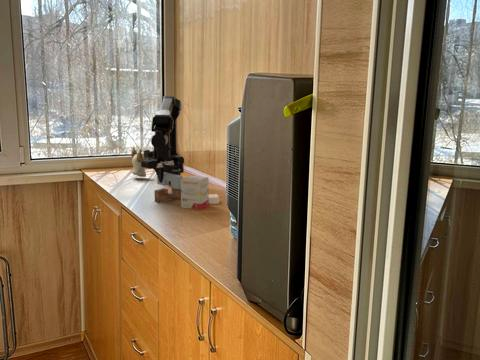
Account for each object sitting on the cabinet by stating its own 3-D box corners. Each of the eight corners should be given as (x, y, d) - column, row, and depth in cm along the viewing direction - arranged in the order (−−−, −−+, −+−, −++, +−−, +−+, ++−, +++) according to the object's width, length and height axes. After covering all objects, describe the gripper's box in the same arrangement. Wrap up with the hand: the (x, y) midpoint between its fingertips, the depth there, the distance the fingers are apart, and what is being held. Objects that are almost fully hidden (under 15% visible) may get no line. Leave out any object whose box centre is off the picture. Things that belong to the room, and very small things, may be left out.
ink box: (209, 205, 195) (209, 176, 192) (200, 210, 187) (200, 180, 184) (189, 203, 197) (189, 174, 195) (180, 208, 189) (180, 178, 187)
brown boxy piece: (180, 196, 208) (180, 184, 207) (184, 197, 206) (184, 185, 205) (154, 202, 197) (154, 190, 196) (158, 203, 196) (158, 191, 195)
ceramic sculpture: (153, 178, 241) (152, 148, 238) (136, 180, 236) (136, 149, 233) (144, 174, 249) (144, 145, 246) (128, 176, 245) (127, 146, 241)
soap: (197, 204, 196) (197, 197, 195) (196, 201, 201) (196, 194, 201) (219, 204, 198) (219, 197, 197) (217, 200, 203) (217, 193, 202)
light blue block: (161, 183, 206) (161, 171, 205) (182, 188, 197) (182, 176, 196) (157, 183, 204) (157, 172, 203) (178, 189, 196) (178, 177, 194)
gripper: (167, 140, 212) (168, 175, 215) (132, 144, 198) (133, 182, 201) (185, 143, 204) (185, 179, 208) (149, 148, 191) (150, 187, 194)
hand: (163, 182), depth 203 cm, fingers closed on light blue block, 2 cm apart
